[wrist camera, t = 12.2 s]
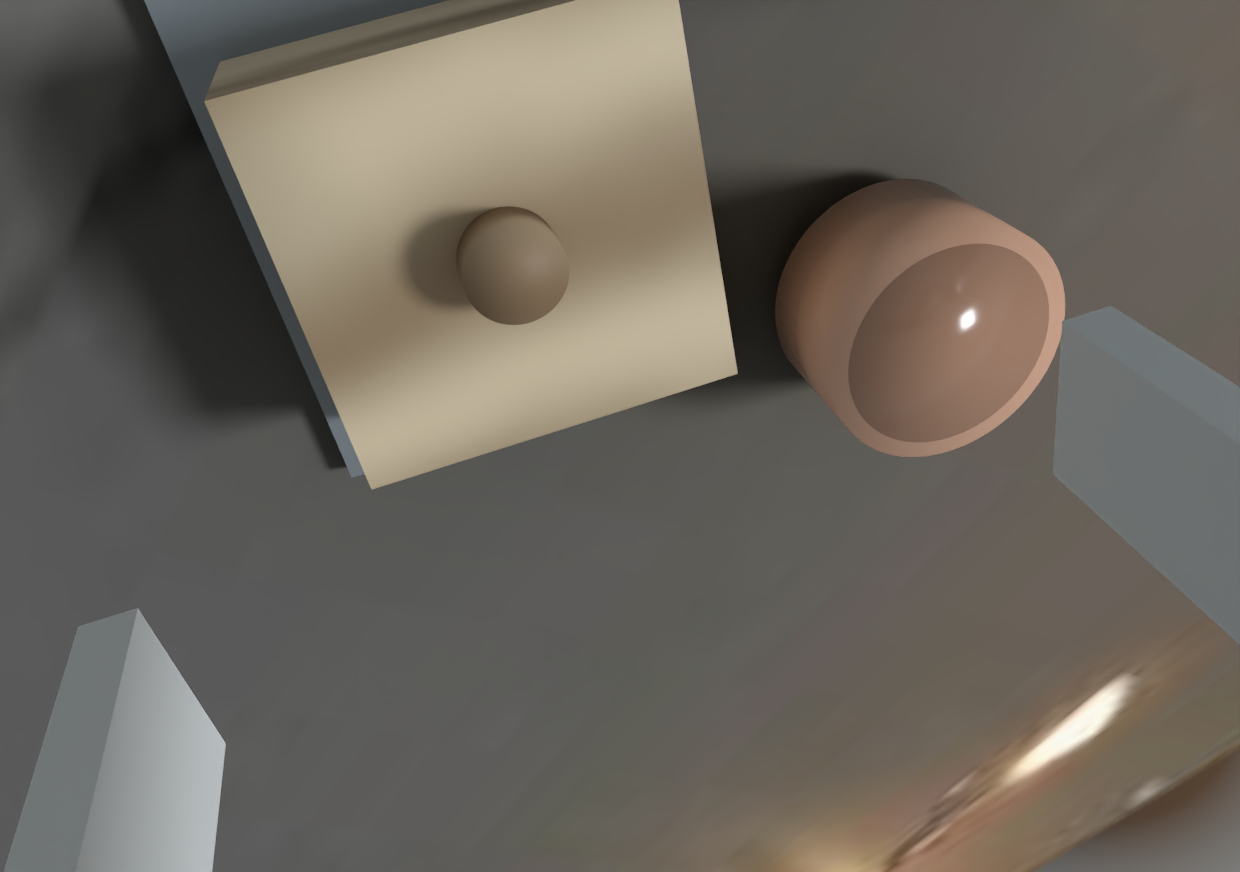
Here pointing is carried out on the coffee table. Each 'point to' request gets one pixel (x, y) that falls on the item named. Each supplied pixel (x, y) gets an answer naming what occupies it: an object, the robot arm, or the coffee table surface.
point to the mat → (196, 43)
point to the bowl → (918, 316)
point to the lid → (484, 218)
